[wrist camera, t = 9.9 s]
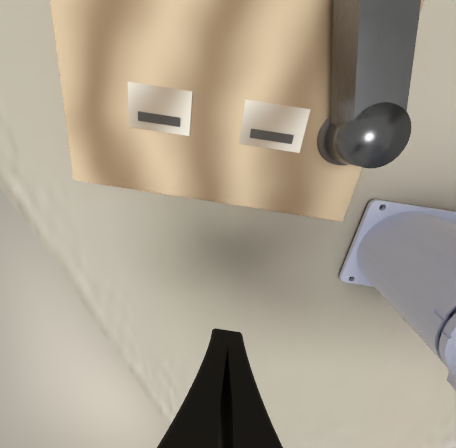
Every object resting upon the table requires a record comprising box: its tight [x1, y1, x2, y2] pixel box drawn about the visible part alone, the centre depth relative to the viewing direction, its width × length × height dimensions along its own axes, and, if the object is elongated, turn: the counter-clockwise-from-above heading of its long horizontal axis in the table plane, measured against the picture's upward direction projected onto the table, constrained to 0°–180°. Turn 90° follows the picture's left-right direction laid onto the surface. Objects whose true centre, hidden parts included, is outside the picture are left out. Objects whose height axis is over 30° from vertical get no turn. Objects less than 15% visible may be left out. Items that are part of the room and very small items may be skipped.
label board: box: [50, 0, 424, 221], centre depth 14 cm, size 22×18×2 cm
